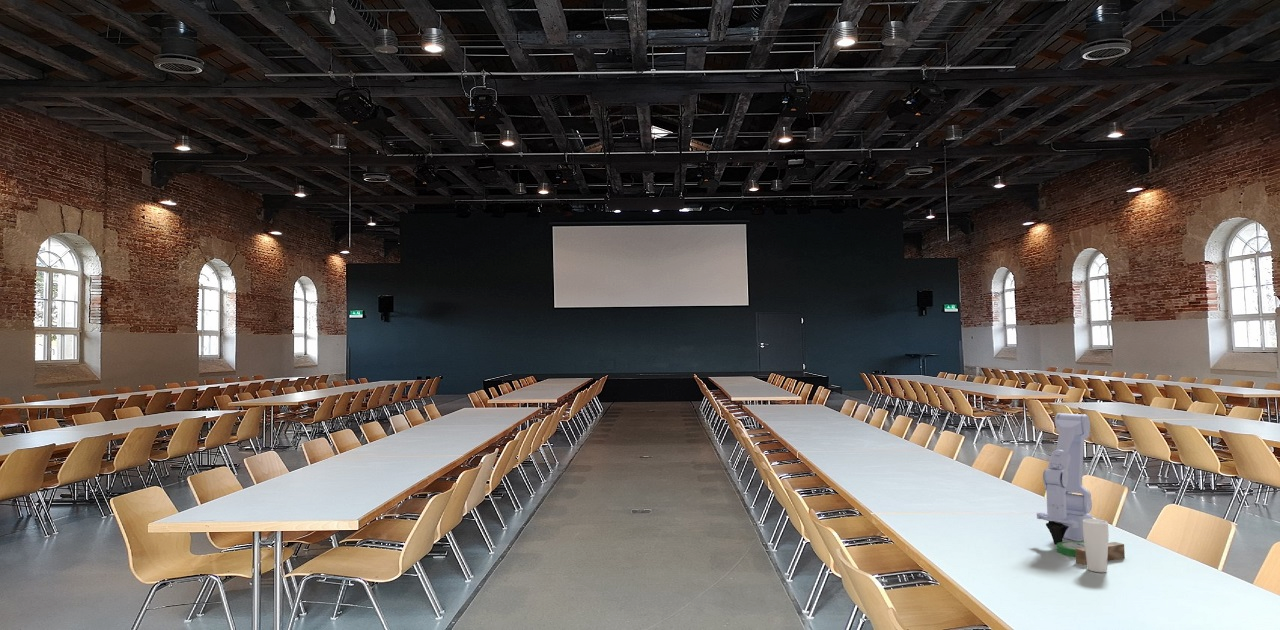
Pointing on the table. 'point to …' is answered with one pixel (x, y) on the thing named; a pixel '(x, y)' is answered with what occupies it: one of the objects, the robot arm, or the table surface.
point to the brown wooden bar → (1113, 553)
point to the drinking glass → (1096, 544)
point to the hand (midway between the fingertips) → (1058, 544)
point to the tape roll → (1068, 548)
